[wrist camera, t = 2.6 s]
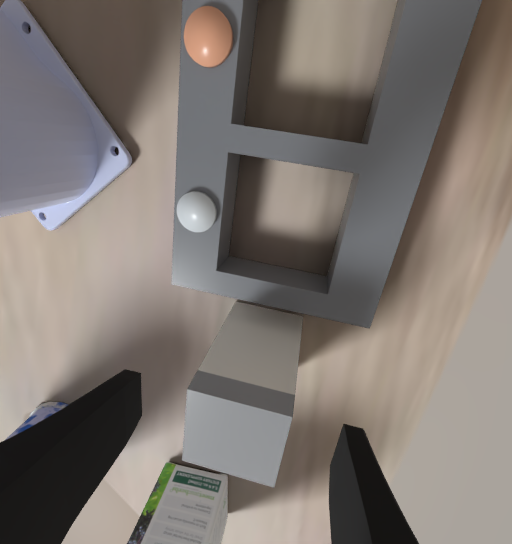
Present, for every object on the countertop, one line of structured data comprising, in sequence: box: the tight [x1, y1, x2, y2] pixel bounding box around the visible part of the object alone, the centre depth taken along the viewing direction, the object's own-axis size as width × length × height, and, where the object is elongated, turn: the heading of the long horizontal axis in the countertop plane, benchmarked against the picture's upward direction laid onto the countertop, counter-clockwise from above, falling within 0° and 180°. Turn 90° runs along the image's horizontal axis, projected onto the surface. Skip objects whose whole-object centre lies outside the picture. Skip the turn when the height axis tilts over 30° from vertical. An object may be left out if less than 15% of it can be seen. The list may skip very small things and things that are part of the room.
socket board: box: [172, 0, 482, 328], centre depth 15 cm, size 16×11×3 cm
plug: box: [182, 301, 303, 488], centre depth 17 cm, size 4×4×8 cm
